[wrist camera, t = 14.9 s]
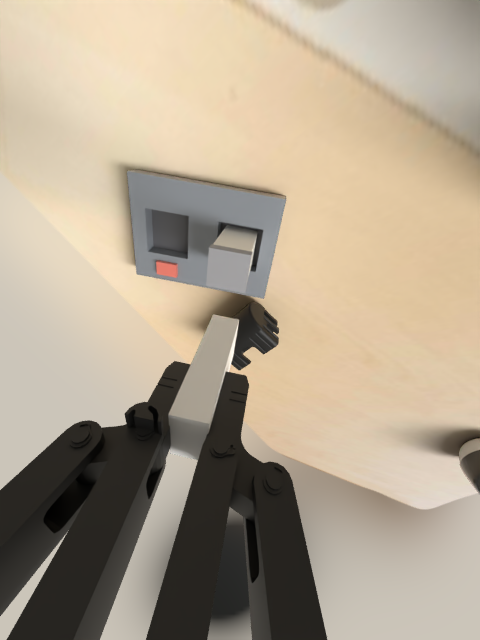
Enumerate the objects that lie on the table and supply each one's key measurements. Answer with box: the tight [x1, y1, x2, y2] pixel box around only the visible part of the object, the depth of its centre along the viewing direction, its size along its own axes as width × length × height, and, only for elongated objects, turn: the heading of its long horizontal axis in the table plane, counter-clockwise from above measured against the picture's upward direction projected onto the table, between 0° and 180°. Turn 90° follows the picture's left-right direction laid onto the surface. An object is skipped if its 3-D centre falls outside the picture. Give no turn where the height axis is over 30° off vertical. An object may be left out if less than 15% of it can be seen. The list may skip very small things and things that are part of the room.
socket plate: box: [127, 170, 286, 299], centre depth 36 cm, size 14×20×3 cm
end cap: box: [231, 302, 279, 370], centre depth 42 cm, size 10×7×7 cm
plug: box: [206, 225, 258, 293], centre depth 33 cm, size 5×5×10 cm
